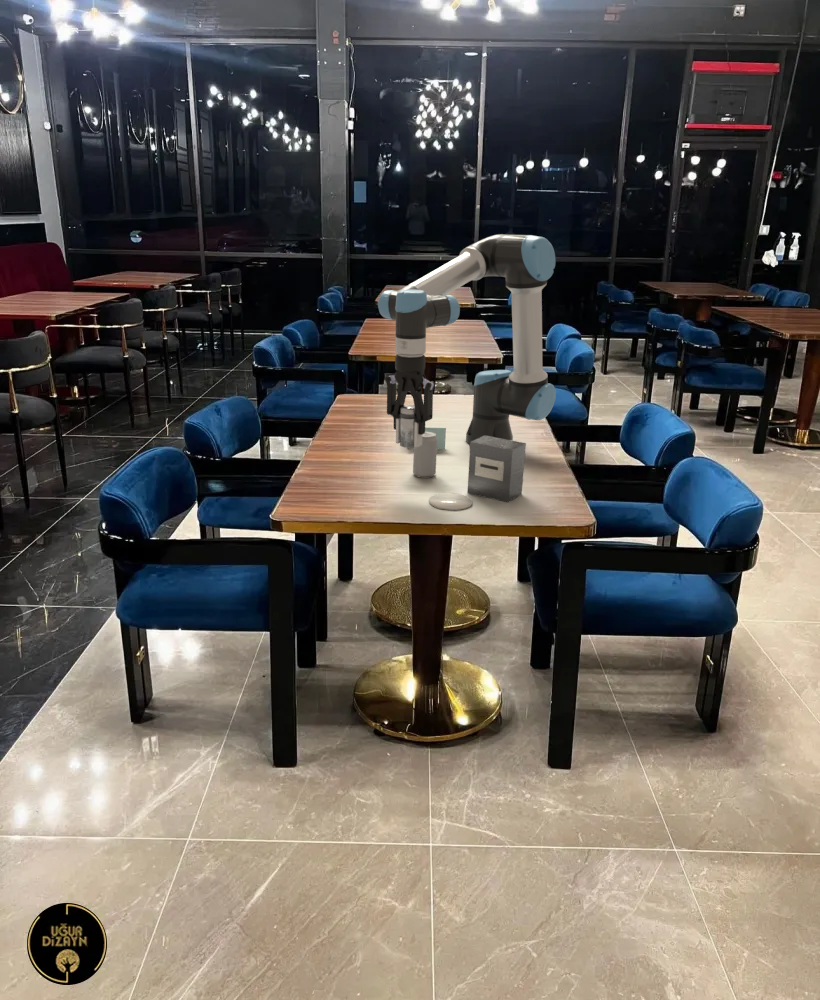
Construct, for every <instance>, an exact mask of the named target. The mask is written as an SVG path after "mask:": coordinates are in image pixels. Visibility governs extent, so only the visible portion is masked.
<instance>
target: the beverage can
mask: <svg viewBox="0 0 820 1000" xmlns="http://www.w3.org/2000/svg"><path fill="white" fill-rule="evenodd" d="M437 452H438V449H437V437H436V434H435V433H433V432H426V431H425V433H424V434H422V445H421V446H419V447H414V449H413V463H412V464H413V465H412V474H414V475H415V476H416V477H418V478H422V477H423V478H424V479H427V478H433V477H434V476H435V475H436V472H437Z"/></svg>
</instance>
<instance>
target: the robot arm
mask: <svg viewBox="0 0 820 1000" xmlns="http://www.w3.org/2000/svg"><path fill="white" fill-rule="evenodd" d="M555 267H556V252H555V250H554V247H553V245H552V243H551V242H550V241H549V240H548V238H545V237H543V236H537V235H533V234H507V233H505V234H503V233H501V234H500V233H498V234H494V235H490V236H487V237H485V238H482V239H480V240H478V241H476V242H473V243H472V244H470V245H468V246H466V247H465V248H463V249H462V250H460V252H459V255H458V256H457V257H455V258H453V259H451V260H450V261H448V262H446V263H443V265H441V266H439V267H437V268H436V269H434V270H432V271H430V272H428V273H427V274H425V275H423V276H422V277H420V278H418V279H416V280H414V281H413V282H411V283H409V284H408V285H406V286H404V287H403V288H401V289H398V290H397V289H392V290H390V289H388V290H384V291H383V292H382V293H381V294H380V296H379V298H378V302H377V307H378V311H379V314H380V315H381V317H383V318H384V319H388V320H392V321H395V348H394V349H395V353H396V355H395V356H394V358H395V359H394V360H395V362H394V367H395V373H394V375H393V374H392V375H389V376H386V377H385V382H386V413H387V415H390V416H391V417H392V418H393V430H395V444H398V445H400V407H401V406H403V405H405V402H406V399H407V394H408V392H409V393H410V395H411V397H412V401H413V405H414V406H415V411H416V416H417V421H416V422H415V430H414V447H419V446H421V445H422V434H424V433H425V427H426V422H428V421H431V420H432V419H433V415H434V414H433V411H434V410H433V407H434V406H433V404H434V403H433V402H434V398H433V397H434V389H435V386H436V382H435V381H433V380H431V381H430V380H429V379H427V378H426V375H425V370H426V356H425V353H426V348H427V347H426V346H427V344H426V341H427V340H426V339H427V338H426V337H427V329H428V328H436V327H446V326H447V325H451V324H454V323H455V322H456V321H458V318H459V317H460V313H461V312H460V311H461V307H460V303H459V301H458V299H457V297H455V296H453V295H451V293H452V292H455V291H456V290H457V289H459V288H461V287H463V286H464V285H465V284H468V283H469V282H471V281H479V280H481V279H482V278H485V277H486V278H487V277H501V278H502V277H503V278H505V288H507V289H508V290H509V291H510V292H511V293H510V294H511V318H512V319H511V320H512V321H511V323H512V324H511V325H512V354H513V355H512V357H513V371H511V370H510V369H494V370H493V369H491V370H490V369H489V370H483V371H479V372H478V373H476V374H475V378H474V384H473V401H472V403H473V405H472V418H471V419H470V423H469V425H468V428H467V430H466V433H465V442H466V443H467V444H468V445H469V444H470V442H471V441H474V440H476V439H478V438H480V437H482V436H484V435H485V436H490V437H496V438H501V439H506V440H512V441H514V435H513V432H512V428H511V423H510V416H513V417H517V418H522V419H526V420H527V421H528V420H532V421H541V420H544V419H545V418H546V417H548V415H549V414H550V413H551V411H552V409H553V407H554V405H555V402H556V397H557V396H556V395H557V390H556V387H555V386H554V384H552V383H548V382H549V381H548V379H549V378H548V373H547V372H546V371H545V370H544V369H543V311H542V310H543V305H542V304H543V303H542V301H543V299H542V298H543V297H542V295H543V294H542V293H543V292H542V291H543V289H544V288H545V287H546V286H547V283H548V280H549V279H550V278H551V277H552V276H553V274H554V269H555ZM397 385H398V387H397ZM422 386H423V387H422ZM423 389H424V391H423Z"/></svg>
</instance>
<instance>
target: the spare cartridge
mask: <svg viewBox="0 0 820 1000" xmlns="http://www.w3.org/2000/svg"><path fill="white" fill-rule="evenodd" d="M416 421H417V416H416V411H415V406H414V404H404V405H403V406H401V407H400V443H399V445H400V447H403V448H406V449H407V448H413V447H414V430H415V422H416Z"/></svg>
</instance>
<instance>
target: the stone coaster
mask: <svg viewBox="0 0 820 1000" xmlns="http://www.w3.org/2000/svg"><path fill="white" fill-rule="evenodd" d="M428 503H429V505H430V506H431V507H434V508H436V509H438V510H439V509H440V510H445V511H461V510H466V509H469V508H470V507H472V506H473V500H472V498H471V497H468V495H465V494H462V493H461V494H460V493H454V492H442V493H437V494H433V495H431V496H430V497H429V498H428Z"/></svg>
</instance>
